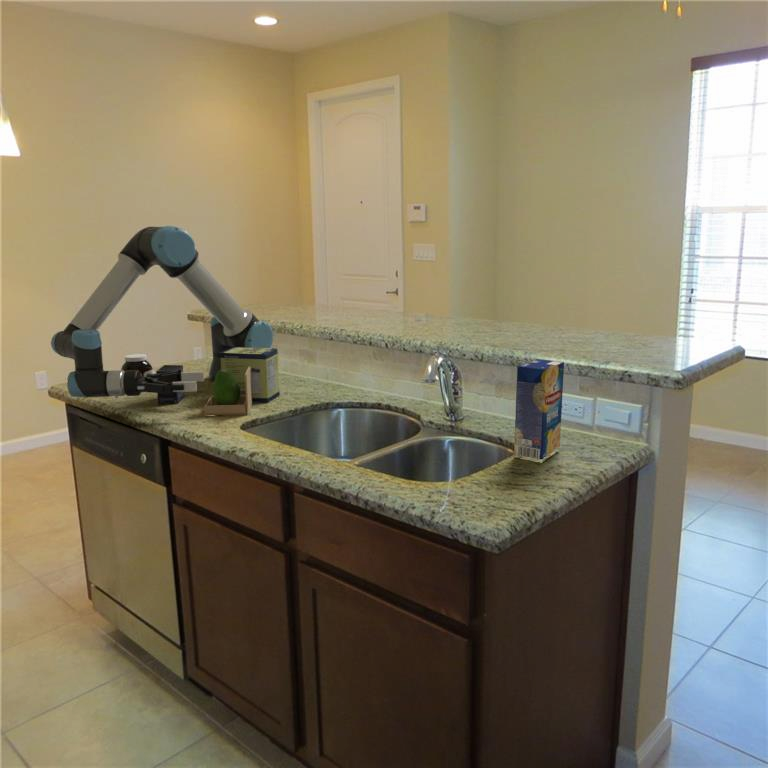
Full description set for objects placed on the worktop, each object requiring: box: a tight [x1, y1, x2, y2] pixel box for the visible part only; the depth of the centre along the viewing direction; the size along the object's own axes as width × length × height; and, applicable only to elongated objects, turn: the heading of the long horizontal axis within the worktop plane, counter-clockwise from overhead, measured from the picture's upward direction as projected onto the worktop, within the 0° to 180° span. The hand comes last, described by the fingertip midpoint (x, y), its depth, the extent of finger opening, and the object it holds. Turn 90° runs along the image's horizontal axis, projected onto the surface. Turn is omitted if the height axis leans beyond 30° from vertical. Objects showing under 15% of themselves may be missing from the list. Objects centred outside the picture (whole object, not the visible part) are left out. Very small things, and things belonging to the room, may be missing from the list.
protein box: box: [220, 347, 281, 404], centre depth 223 cm, size 10×16×16 cm
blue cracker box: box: [513, 358, 565, 459], centre depth 165 cm, size 7×11×22 cm, turn 144°
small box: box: [155, 364, 186, 404], centre depth 222 cm, size 11×6×10 cm, turn 4°
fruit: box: [212, 369, 240, 405], centre depth 208 cm, size 8×8×12 cm
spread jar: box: [120, 353, 156, 377], centre depth 238 cm, size 12×11×12 cm
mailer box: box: [203, 367, 253, 416], centre depth 208 cm, size 12×12×12 cm
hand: (200, 381), depth 207 cm, fingers open, 13 cm apart
